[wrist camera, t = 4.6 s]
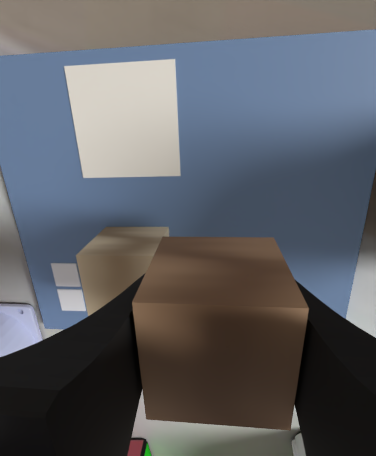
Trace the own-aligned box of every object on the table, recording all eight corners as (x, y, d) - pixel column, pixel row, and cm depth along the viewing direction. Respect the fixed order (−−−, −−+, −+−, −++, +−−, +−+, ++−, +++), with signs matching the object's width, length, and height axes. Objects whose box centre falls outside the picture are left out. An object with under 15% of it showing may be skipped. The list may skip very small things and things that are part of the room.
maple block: (114, 281, 21) (89, 321, 17) (105, 226, 20) (75, 255, 15) (172, 282, 21) (161, 323, 16) (168, 226, 19) (155, 256, 15)
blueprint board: (50, 322, 24) (44, 329, 23) (-19, 60, 17) (-31, 57, 16) (337, 332, 22) (341, 340, 21) (394, 32, 15) (405, 27, 14)
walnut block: (168, 324, 13) (146, 419, 9) (162, 236, 11) (131, 302, 7) (266, 328, 13) (290, 430, 8) (273, 237, 11) (309, 308, 7)
